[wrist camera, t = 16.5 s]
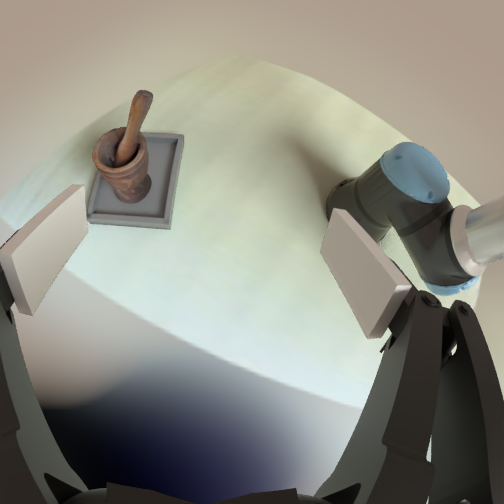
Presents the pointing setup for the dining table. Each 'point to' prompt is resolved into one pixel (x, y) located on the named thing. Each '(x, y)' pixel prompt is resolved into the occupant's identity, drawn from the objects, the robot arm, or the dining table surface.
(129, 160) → the mortar and pestle
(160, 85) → the dining table surface
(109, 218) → the tray
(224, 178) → the dining table surface
